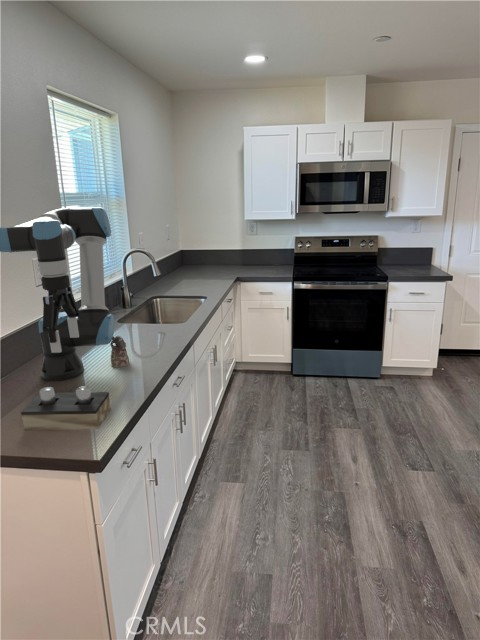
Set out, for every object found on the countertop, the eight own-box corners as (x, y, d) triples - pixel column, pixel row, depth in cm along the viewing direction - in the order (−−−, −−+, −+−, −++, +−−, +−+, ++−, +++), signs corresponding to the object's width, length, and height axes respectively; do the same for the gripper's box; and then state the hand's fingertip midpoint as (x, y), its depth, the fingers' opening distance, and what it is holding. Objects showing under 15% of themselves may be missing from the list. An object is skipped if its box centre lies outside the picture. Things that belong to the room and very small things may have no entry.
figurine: (124, 367, 170) (121, 338, 166) (108, 366, 171) (104, 338, 168) (132, 360, 176) (129, 333, 173) (116, 360, 178) (113, 332, 174)
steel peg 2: (81, 402, 132) (78, 386, 131) (94, 402, 132) (91, 386, 130) (76, 408, 128) (73, 392, 127) (89, 408, 128) (86, 392, 127)
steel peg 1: (46, 403, 133) (43, 387, 131) (58, 403, 132) (56, 386, 131) (40, 409, 129) (36, 392, 127) (53, 409, 129) (50, 392, 127)
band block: (43, 410, 138) (40, 393, 136) (111, 409, 137) (108, 391, 135) (24, 430, 126) (20, 411, 125) (98, 429, 125) (95, 410, 124)
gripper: (60, 267, 136) (70, 331, 143) (19, 284, 113) (34, 359, 119) (83, 266, 136) (92, 331, 142) (47, 283, 113) (60, 359, 119)
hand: (66, 344), depth 131 cm, fingers open, 12 cm apart
